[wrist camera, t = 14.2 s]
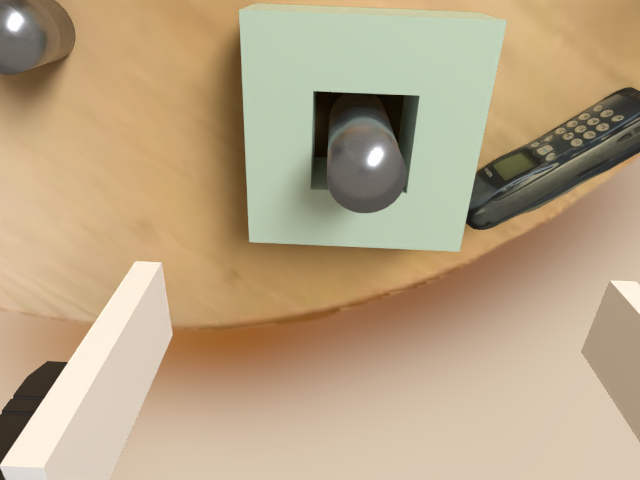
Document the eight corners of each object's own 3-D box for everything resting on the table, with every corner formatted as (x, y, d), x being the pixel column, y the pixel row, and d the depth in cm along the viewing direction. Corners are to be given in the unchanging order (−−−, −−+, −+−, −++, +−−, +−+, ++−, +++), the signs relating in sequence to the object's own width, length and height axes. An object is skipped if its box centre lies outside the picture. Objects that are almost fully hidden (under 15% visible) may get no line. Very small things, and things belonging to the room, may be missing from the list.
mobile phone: (670, 92, 28) (442, 227, 32) (686, 133, 29) (464, 259, 33) (623, 76, 32) (428, 198, 37) (639, 113, 33) (448, 226, 38)
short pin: (22, 59, 33) (-27, 73, 28) (5, -7, 31) (-50, -4, 26) (80, 61, 33) (41, 75, 28) (67, -5, 31) (22, 0, 26)
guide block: (261, 204, 37) (249, 242, 32) (256, 3, 30) (239, 9, 25) (442, 212, 37) (459, 251, 32) (477, 12, 30) (507, 20, 25)
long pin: (328, 145, 35) (325, 211, 25) (330, 88, 33) (328, 137, 23) (383, 147, 35) (401, 215, 25) (389, 91, 33) (411, 140, 23)
